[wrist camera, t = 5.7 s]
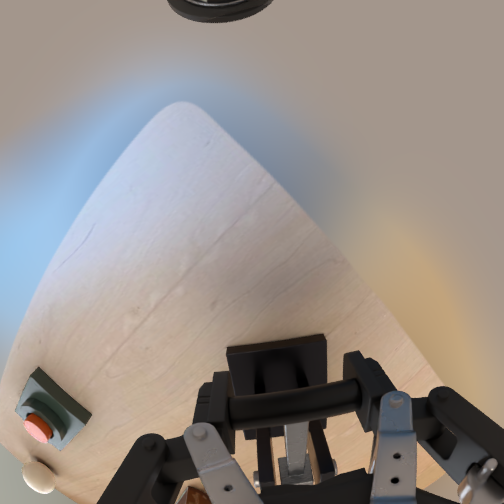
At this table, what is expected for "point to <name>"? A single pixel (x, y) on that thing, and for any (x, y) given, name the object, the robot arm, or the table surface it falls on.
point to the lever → (295, 419)
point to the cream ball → (38, 477)
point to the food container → (194, 497)
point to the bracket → (281, 379)
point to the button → (38, 428)
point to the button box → (52, 408)
